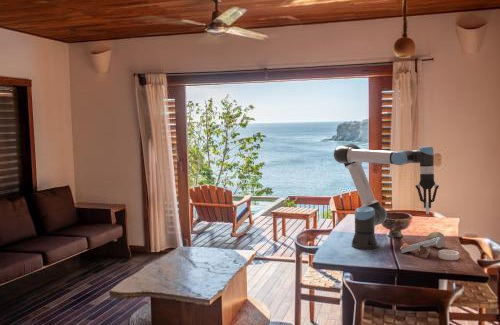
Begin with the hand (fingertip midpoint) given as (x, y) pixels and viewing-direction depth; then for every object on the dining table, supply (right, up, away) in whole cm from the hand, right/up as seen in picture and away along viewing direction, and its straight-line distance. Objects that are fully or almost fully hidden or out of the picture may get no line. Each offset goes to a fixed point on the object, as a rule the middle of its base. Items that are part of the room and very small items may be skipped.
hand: (427, 213), depth 267 cm
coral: (+8, -21, +10) cm, 25 cm away
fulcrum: (-5, -22, -6) cm, 24 cm away
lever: (-5, -18, -3) cm, 19 cm away
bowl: (+7, -23, -12) cm, 27 cm away
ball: (-13, -19, -1) cm, 23 cm away
